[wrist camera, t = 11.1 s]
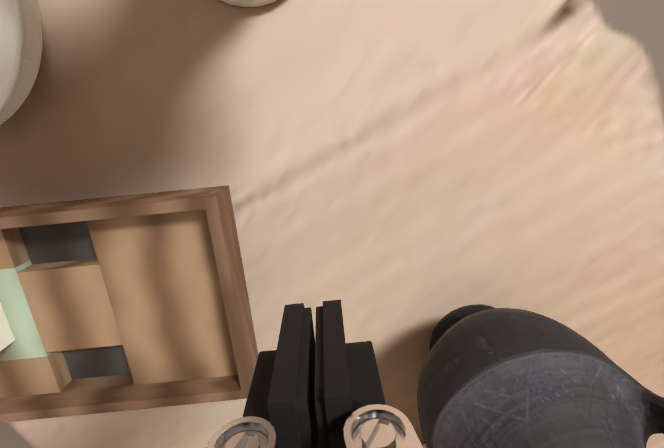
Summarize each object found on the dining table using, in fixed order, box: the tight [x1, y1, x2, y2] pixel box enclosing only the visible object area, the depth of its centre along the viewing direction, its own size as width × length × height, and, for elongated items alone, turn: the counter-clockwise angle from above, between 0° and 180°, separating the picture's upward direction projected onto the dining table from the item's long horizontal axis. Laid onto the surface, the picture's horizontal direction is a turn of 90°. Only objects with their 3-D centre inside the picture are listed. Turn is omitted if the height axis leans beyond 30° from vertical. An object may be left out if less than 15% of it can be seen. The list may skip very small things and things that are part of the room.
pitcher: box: [417, 305, 664, 448], centre depth 28 cm, size 17×21×30 cm
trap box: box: [0, 186, 258, 423], centre depth 38 cm, size 30×21×5 cm
